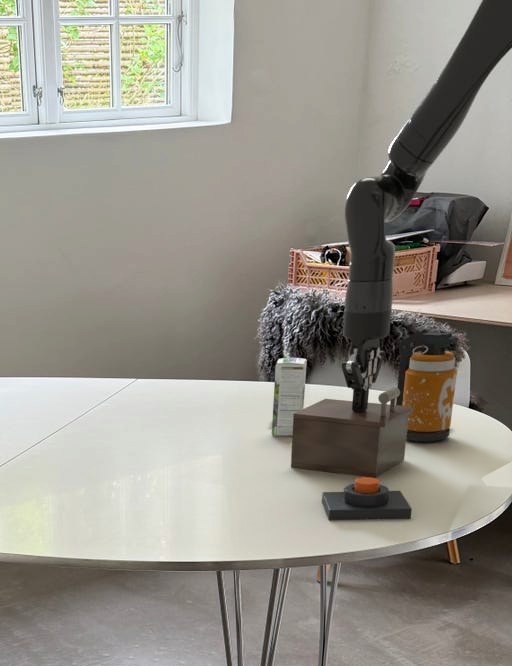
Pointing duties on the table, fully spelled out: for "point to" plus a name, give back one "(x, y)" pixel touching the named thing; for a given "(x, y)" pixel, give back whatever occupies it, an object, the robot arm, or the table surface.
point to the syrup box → (288, 394)
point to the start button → (366, 485)
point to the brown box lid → (371, 417)
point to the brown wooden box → (348, 447)
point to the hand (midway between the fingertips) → (359, 410)
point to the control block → (365, 504)
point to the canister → (427, 384)
